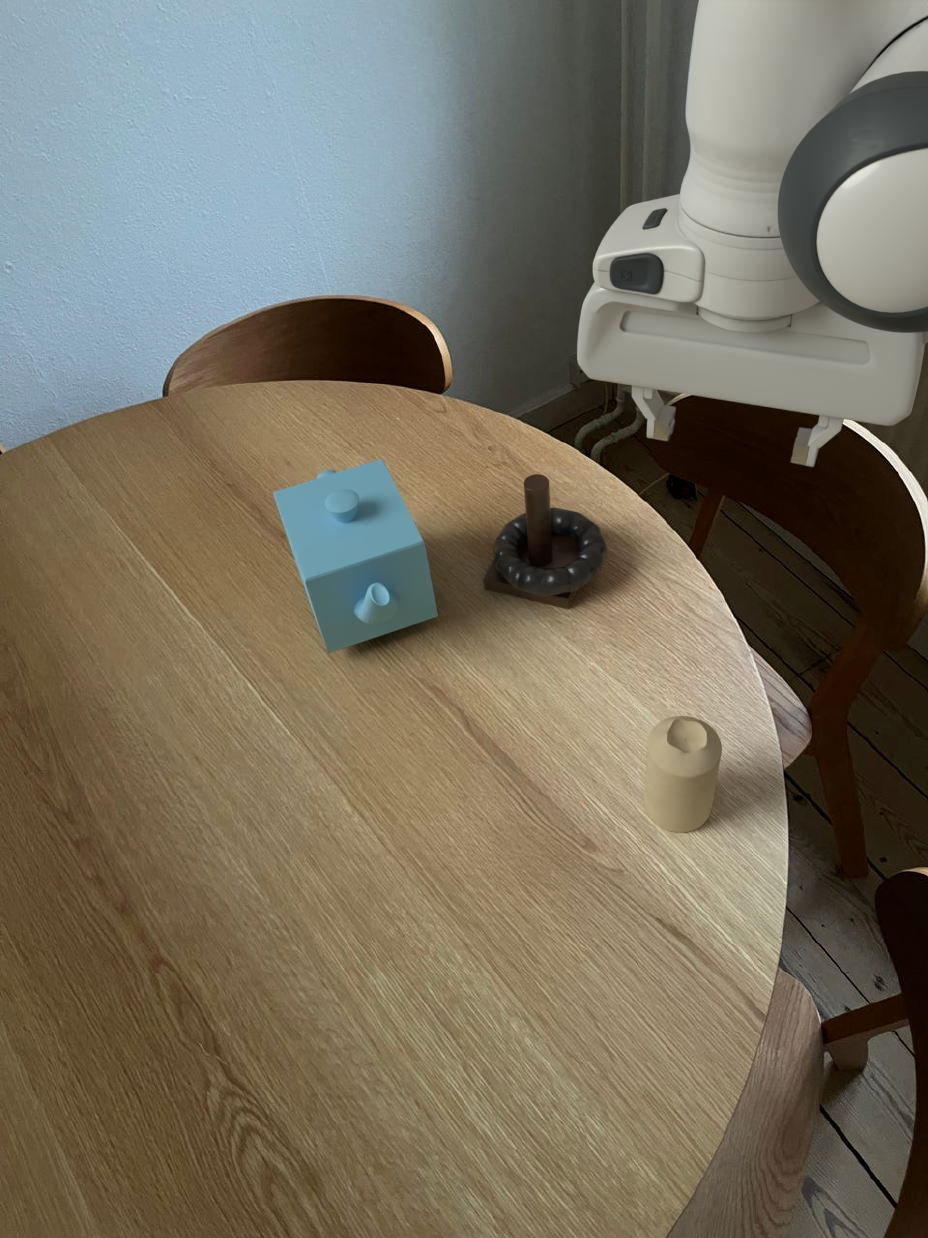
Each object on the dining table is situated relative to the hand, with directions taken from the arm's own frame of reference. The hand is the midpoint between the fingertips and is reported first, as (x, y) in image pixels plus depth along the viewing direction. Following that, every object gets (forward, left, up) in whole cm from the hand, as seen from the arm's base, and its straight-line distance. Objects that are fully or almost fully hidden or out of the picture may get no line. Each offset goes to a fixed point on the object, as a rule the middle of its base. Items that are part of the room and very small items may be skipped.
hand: (730, 446), depth 64 cm
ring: (+18, -12, -26) cm, 34 cm away
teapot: (+33, -1, -29) cm, 44 cm away
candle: (-1, +10, -29) cm, 31 cm away
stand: (+19, -12, -29) cm, 37 cm away
